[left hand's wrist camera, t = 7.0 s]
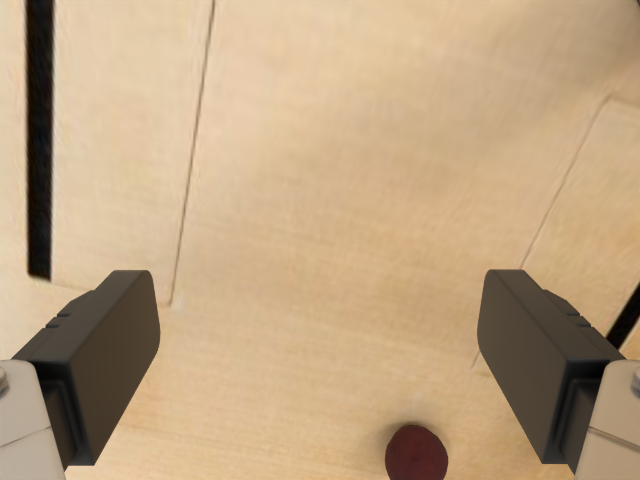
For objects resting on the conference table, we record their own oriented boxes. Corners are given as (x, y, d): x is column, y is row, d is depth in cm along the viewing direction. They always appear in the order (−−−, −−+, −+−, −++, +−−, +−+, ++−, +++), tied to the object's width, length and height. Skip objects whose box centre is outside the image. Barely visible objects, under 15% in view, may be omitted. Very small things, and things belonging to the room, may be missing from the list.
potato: (386, 464, 58) (395, 515, 52) (376, 418, 56) (383, 465, 49) (443, 454, 58) (459, 505, 51) (435, 407, 55) (451, 454, 49)
